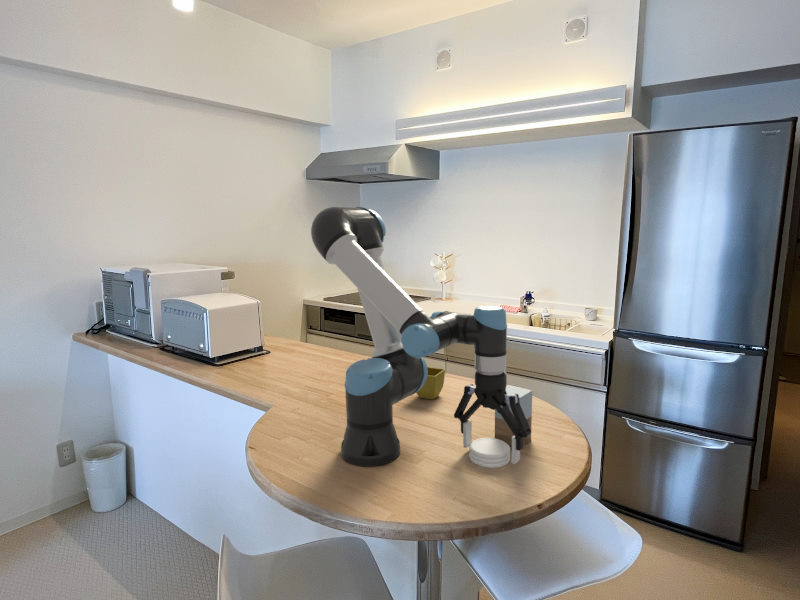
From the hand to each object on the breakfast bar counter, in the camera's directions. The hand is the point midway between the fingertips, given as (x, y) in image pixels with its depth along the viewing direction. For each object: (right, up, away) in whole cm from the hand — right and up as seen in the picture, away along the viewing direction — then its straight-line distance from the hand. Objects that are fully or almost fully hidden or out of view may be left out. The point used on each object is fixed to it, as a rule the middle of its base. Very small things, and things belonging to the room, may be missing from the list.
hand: (490, 453), depth 120 cm
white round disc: (0, -2, +1) cm, 2 cm away
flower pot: (-13, +5, +43) cm, 46 cm away
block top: (+7, +7, +8) cm, 13 cm away
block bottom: (+8, 0, +9) cm, 12 cm away
